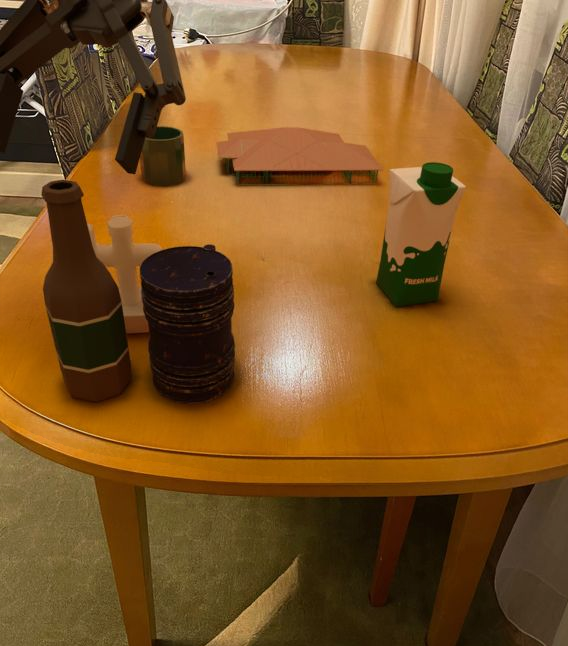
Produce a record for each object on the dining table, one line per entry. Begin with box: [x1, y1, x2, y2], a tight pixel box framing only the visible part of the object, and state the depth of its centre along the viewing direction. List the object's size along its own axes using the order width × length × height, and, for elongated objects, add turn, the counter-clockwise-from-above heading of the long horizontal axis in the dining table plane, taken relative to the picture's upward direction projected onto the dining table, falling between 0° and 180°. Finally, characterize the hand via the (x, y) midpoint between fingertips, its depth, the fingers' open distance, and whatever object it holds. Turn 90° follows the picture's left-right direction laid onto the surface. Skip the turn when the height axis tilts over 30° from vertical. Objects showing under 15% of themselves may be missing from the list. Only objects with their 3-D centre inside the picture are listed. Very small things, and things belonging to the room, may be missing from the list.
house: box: [215, 126, 384, 186], centre depth 129 cm, size 23×33×8 cm
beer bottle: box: [41, 179, 133, 403], centre depth 64 cm, size 8×8×24 cm
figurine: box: [87, 214, 163, 335], centre depth 76 cm, size 7×9×15 cm
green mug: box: [139, 125, 187, 188], centre depth 120 cm, size 12×9×9 cm
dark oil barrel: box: [139, 244, 236, 405], centre depth 67 cm, size 10×10×18 cm
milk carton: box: [375, 161, 467, 308], centre depth 86 cm, size 9×9×20 cm
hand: (57, 156), depth 56 cm, fingers open, 13 cm apart
